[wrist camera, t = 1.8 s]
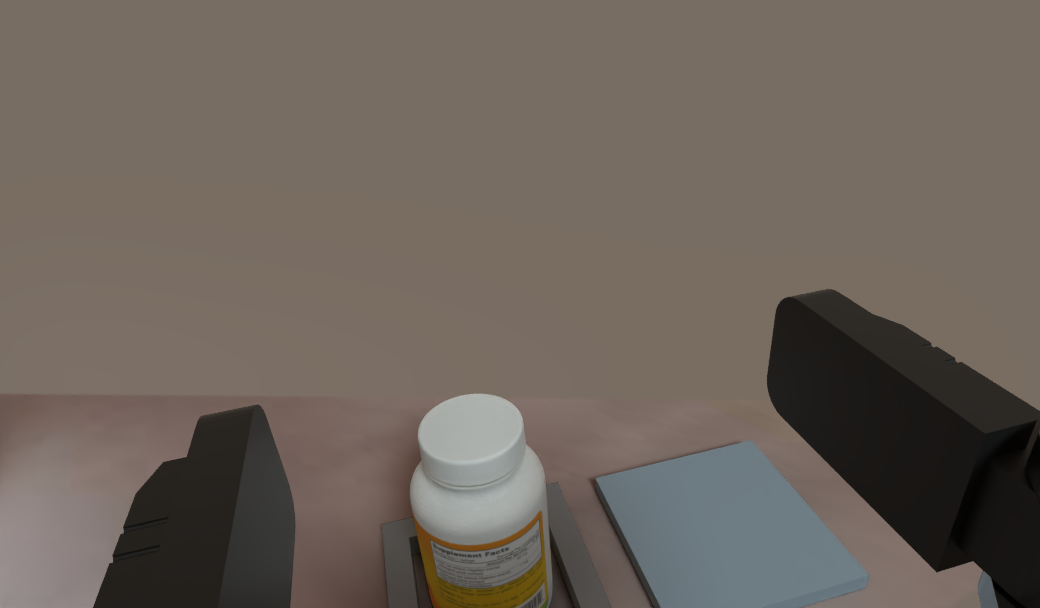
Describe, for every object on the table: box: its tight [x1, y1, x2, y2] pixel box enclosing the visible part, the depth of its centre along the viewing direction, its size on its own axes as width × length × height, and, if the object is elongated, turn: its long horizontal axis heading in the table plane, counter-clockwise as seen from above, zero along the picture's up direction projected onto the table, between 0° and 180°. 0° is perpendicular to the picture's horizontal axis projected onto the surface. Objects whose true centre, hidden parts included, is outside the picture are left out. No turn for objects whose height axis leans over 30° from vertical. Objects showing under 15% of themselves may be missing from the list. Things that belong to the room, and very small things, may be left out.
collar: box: [382, 482, 611, 608], centre depth 28 cm, size 9×9×1 cm
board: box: [595, 440, 869, 608], centre depth 30 cm, size 9×9×1 cm
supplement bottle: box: [410, 394, 553, 608], centre depth 26 cm, size 5×5×10 cm
